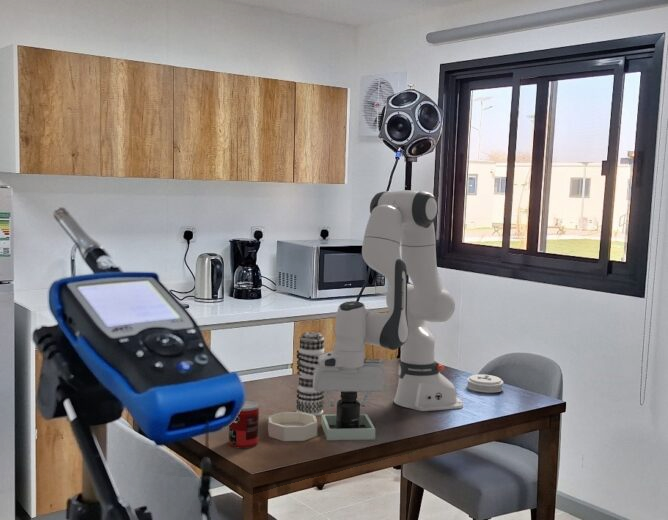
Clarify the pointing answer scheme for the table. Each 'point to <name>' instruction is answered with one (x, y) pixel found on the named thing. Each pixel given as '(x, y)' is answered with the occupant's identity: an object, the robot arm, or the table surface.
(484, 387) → the lid
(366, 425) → the tray
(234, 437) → the canned food
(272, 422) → the bowl
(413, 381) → the robot arm
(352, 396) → the supplement bottle
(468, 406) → the table surface
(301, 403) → the decorative candle
